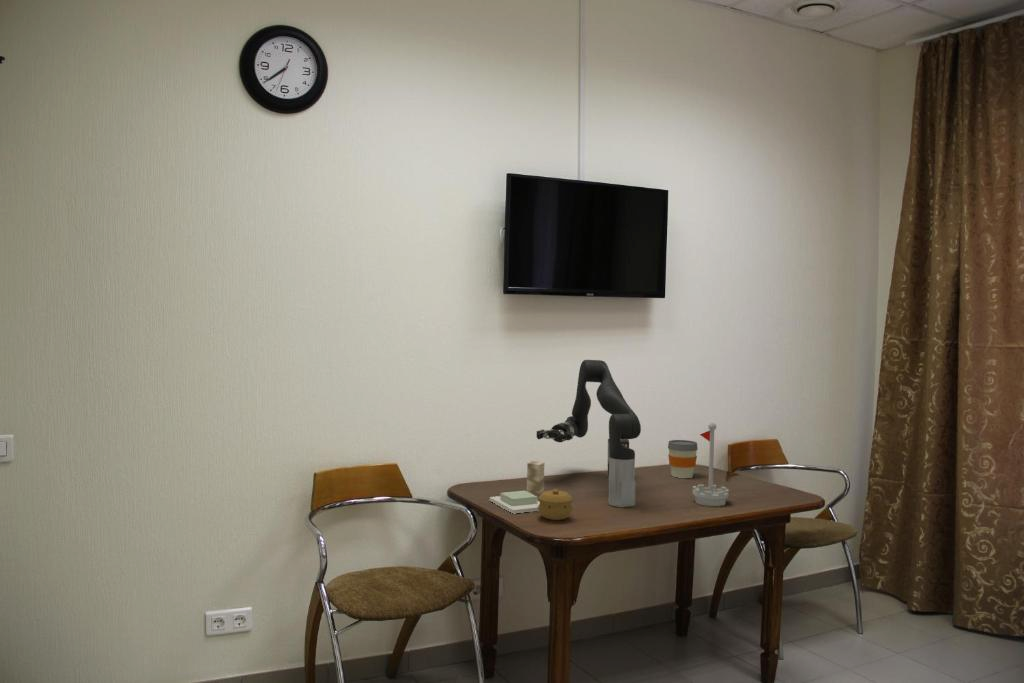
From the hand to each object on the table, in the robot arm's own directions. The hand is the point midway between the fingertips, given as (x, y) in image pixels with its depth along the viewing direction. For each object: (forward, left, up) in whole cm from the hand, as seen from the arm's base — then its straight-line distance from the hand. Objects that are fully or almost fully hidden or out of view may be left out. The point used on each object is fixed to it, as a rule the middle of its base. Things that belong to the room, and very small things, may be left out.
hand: (548, 437), depth 306 cm
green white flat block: (-22, +23, -20) cm, 38 cm away
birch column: (-8, +9, -20) cm, 24 cm away
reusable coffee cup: (-3, -65, -20) cm, 68 cm away
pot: (-42, +19, -20) cm, 50 cm away
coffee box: (+6, -38, -20) cm, 43 cm away
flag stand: (-44, -46, -20) cm, 66 cm away
